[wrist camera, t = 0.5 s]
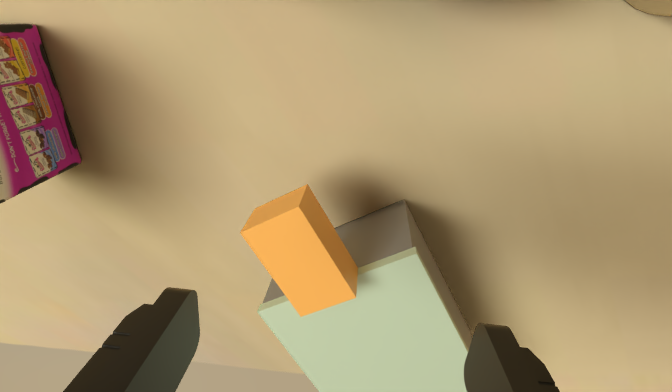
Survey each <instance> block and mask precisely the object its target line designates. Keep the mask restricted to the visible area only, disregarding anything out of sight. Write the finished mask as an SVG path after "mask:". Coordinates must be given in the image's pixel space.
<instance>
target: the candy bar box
mask: <svg viewBox="0 0 672 392" xmlns="http://www.w3.org/2000/svg"><path fill="white" fill-rule="evenodd" d="M80 163H81V157H80V154H79V151H78V148H77V145H76V142H75V139H74V136H73V133H72V130H71V128H70V125H69V122H68V119H67V116H66V113H65V110H64V107H63V104H62V101H61V98H60V95H59V92H58V89H57V86H56V83H55V80H54V77H53V75H52V72H51V69H50V66H49V63H48V60H47V57H46V54H45V51H44V48H43V45H42V42H41V39H40V36H39V33H38V30H37V27H36V25H35V24H13V23H0V203H2V202H5V201H6V200H8V199H10V198H12V197H14V196H16V195H18V194H20V193H22V192H24V191H26V190H28V189H30V188H32V187H34V186H36V185H38V184H40V183H42V182H44V181H46V180H48V179H50V178H52V177H54V176H56V175H58V174H60V173H62V172H64V171H66V170H68V169H70V168H72V167H74V166H76V165H78V164H80Z"/></svg>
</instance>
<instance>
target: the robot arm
mask: <svg viewBox="0 0 672 392" xmlns="http://www.w3.org/2000/svg"><path fill="white" fill-rule="evenodd" d="M625 1H627V2H628V3H629V4H630V5H632V6H633V7H634V8H636V9H638V10H641V11H643V12H645V13H648V14H654V15H661V16H672V0H625ZM199 336H200V327H199V313H198V299H197V293H196V291H195V290H188V289H179V288H170V287H169V288H166V289H165V290H164V291H163V292H162V294H161V295H160V296H159V298H158V299H157V300H156V302H155V303H154V304H153V305H150V304H143V305H142V306H140V307H139V308H137V309H136V310H134V311H133V312H131V313H130V314H128V315H127V316H126V317H125V318H124V319H123V320H122V322H121V323H120V324H119V325H118V326H117V328H116V329H115V330H114V331H113V334H112V335H110V336H109V337H108V338H107V340H106V341H105V342H104V343H103V344H102V348H99V349H98V350H97V352H96V353H95V354H94V355H93V356H92V358H91V359H90V360H89V361H88V363H87V364H86V365H85V366H84V367H83V368H82V370H81V371H80V372H79V373H78V374H77V376H76V377H75V378H74V379H73V380H72V382H71V383H70V384H69V385H68V386H67V388H66V389H65V390H64V391H63V392H175V391H176V389H177V387H178V385H179V383H180V381H181V379H182V378H183V375H184V374H185V372H186V370H187V368H188V366H189V364H190V362H191V360H192V358H193V356H194V354H195V352H196V349H197V346H198V342H199ZM464 382H465V387H466V390H467V392H560V391H559V389H558V387H555V382H554V380H553V379H552V377H551V375H550V373H549V372H548V370H547V368H546V366H545V365H544V364H543V363H542V362H541V361H540V360H539V359H538V358H537V357H536V356H535V355H534V354H533V353H532V352H531V351H530V350H529V349H528V348H522V347H520V346H519V344H518V343H517V341H516V339H515V337H514V335H513V333H512V331H511V330H510V328H509V327H507V326H501V325H492V324H483V323H479V324H478V325H477V327H476V329H475V332H474V335H473V338H472V341H471V344H470V347H469V350H468V354H467V357H466V360H465V364H464Z"/></svg>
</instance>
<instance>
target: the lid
mask: <svg viewBox="0 0 672 392" xmlns="http://www.w3.org/2000/svg"><path fill="white" fill-rule="evenodd" d="M240 233H241V235H242V236H243V238H244V239H245V240H246V242H247V243H248V244H249V246H250V247H251V249H252V250H253V251H254V253H255V254H256V256H257V257H258V258H259V260H260V261H261V262H262V264H263V265H264V267H265V268H266V269H267V271H268V272H269V274H270V275H271V276H272V278H273V279H274V280H275V282H276V283H277V285H278V286H279V287H280V289H281V290H282V292H283V293H284V294H285V295H284V296H281V297H279V298H276V299H273V300H271V301H268V302H265V303H263V304H260V306H259V309H258V311H257V312H258V314H259V315H260V316H261V317H262V319H263V320H264V321H265V323H266V324H267V325H268V327H269V328H270V329H271V330H272V332H273V333H274V334H275V336H276V337H277V338H278V339H279V341H280V342H281V343H282V345H283V346H284V347H285V348H286V350H287V351H288V352H289V354H290V355H291V356H292V357H293V359H294V360H295V361H296V363H297V364H298V365H299V366H300V368H301V369H302V370H303V372H304V373H305V374H306V375H307V376H308V378H309V379H310V381H311V382H312V383H313V384H314V386H315V387H316V388H317V390H318V391H319V392H467V390H466V387H465V382H464V364H465V360H466V357H467V354H468V348H467V346H466V344H465V342H464V340H463V338H462V336H461V334H460V332H459V330H458V328H457V326H456V324H455V322H454V321H453V319H452V317H451V315H450V313H449V311H448V309H447V307H446V305H445V303H444V301H443V299H442V297H441V295H440V293H439V291H438V290H437V288H436V286H435V284H434V282H433V280H432V278H431V276H430V274H429V272H428V270H427V268H426V266H425V264H424V262H423V260H422V259H421V257H420V255H419V253H418V251H417V249H416V247H413V248H410V249H407V250H405V251H402V252H399V253H397V254H394V255H391V256H389V257H386V258H383V259H381V260H378V261H375V262H372V263H370V264H367V265H364V266H362V267H359V268H358V267H357V265H356V264H355V262H354V260H353V259H352V257H351V255H350V254H349V252H348V250H347V249H346V247H345V245H344V244H343V242H342V240H341V239H340V237H339V236H338V234H337V232H336V231H335V229H334V227H333V226H332V224H331V222H330V221H329V219H328V217H327V216H326V214H325V212H324V211H323V209H322V207H321V206H320V204H319V202H318V201H317V199H316V197H315V196H314V194H313V192H312V191H311V189H310V187H309V186H308V184H307V185H305V186H303V187H300V188H298V189H296V190H294V191H292V192H290V193H288V194H285V195H283V196H281V197H279V198H277V199H275V200H272V201H270V202H268V203H266V204H264V205H262V206H260V207H257V208H255V209H254V211H253V213H252V214H251V216H250V218H249V219H248V221H247V222H246V224H245V226H244V227H243V229H242V230H241V232H240Z"/></svg>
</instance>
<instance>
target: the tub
mask: <svg viewBox="0 0 672 392" xmlns="http://www.w3.org/2000/svg"><path fill="white" fill-rule="evenodd" d="M334 229H335V231H336V232H337V234H338V236H339V237H340V239H341V240H342V242H343V244H344V245H345V247H346V249H347V250H348V252H349V254H350V255H351V257H352V259H353V260H354V262H355V264H356V265H357V267H358V268H359V267H362V266H364V265H367V264H370V263H372V262H375V261H378V260H381V259H383V258H386V257H389V256H391V255H394V254H397V253H399V252H402V251H405V250H407V249H410V248H413V247H416V249H417V251H418V253H419V255H420V257H421V259H422V260H423V262H424V264H425V266H426V268H427V270H428V272H429V274H430V276H431V278H432V280H433V282H434V284H435V286H436V288H437V290H438V291H439V293H440V295H441V297H442V299H443V301H444V303H445V305H446V307H447V309H448V311H449V313H450V315H451V317H452V319H453V321H454V322H455V324H456V326H457V328H458V330H459V332H460V334H461V336H462V338H463V340H464V342H465V344H466V346H467V348H468V350H469V347H470V344H471V341H472V336H471V332H470V330H469V328H468V326H467V324H466V322H465V320H464V318H463V316H462V314H461V312H460V310H459V308H458V306H457V304H456V302H455V300H454V298H453V296H452V294H451V292H450V290H449V288H448V286H447V284H446V282H445V280H444V278H443V276H442V274H441V272H440V270H439V268H438V266H437V264H436V262H435V260H434V258H433V256H432V254H431V252H430V250H429V248H428V246H427V244H426V242H425V240H424V238H423V236H422V234H421V232H420V230H419V228H418V226H417V224H416V222H415V220H414V218H413V216H412V214H411V212H410V210H409V208H408V206H407V204H406V202H405V200H401V201H399V202H397V203H394V204H392V205H389V206H387V207H385V208H382V209H380V210H377V211H375V212H373V213H370V214H368V215H365V216H363V217H361V218H358V219H356V220H353V221H351V222H348V223H346V224H344V225H341V226H339V227H336V228H334ZM284 295H285V294H284V293H283V292H282V290H281V289H280V287H279V286H278V285H277V283H276V282H275V280H274V279H273V278H272V280H271V283H270V285H269V288H268V291H267V293H266V296H265V298H264V301H263V303H265V302H268V301H271V300H273V299H276V298H279V297H281V296H284Z"/></svg>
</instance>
